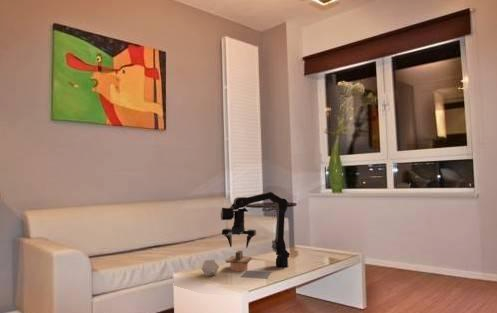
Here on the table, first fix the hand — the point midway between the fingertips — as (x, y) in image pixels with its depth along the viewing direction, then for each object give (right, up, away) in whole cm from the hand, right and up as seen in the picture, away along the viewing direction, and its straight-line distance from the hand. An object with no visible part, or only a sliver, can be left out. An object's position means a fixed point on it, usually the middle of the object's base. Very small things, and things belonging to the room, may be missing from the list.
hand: (238, 247), depth 207 cm
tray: (+10, -12, -13) cm, 20 cm away
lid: (0, -7, 0) cm, 7 cm away
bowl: (0, -12, -1) cm, 12 cm away
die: (-15, -12, -13) cm, 23 cm away
